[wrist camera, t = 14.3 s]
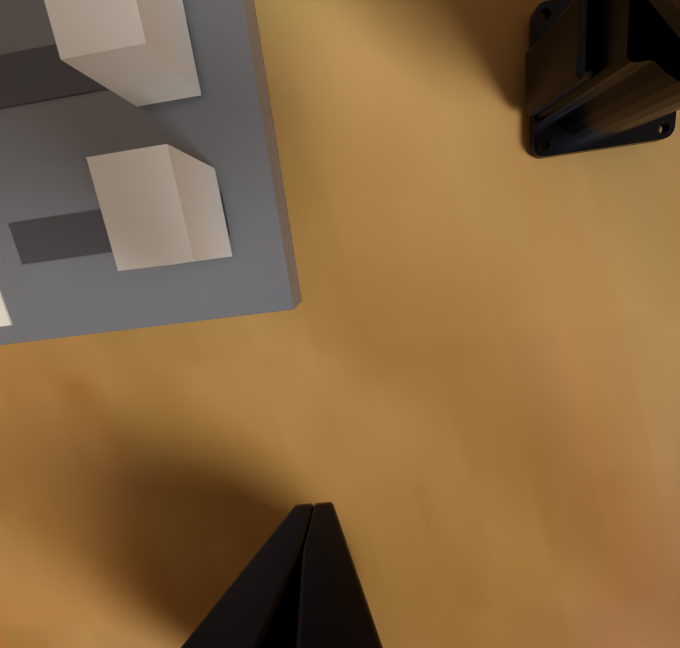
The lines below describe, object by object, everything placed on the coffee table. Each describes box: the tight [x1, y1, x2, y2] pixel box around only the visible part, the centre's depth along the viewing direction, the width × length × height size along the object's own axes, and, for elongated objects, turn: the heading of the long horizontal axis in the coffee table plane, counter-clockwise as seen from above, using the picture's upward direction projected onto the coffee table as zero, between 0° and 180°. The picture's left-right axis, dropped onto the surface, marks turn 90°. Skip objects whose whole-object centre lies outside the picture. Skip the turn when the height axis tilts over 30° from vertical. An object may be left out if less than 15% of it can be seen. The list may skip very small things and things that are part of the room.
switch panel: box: [0, 0, 302, 345], centre depth 16 cm, size 18×24×3 cm
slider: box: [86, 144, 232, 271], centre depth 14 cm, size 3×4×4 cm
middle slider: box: [44, 0, 201, 106], centre depth 13 cm, size 3×4×4 cm
